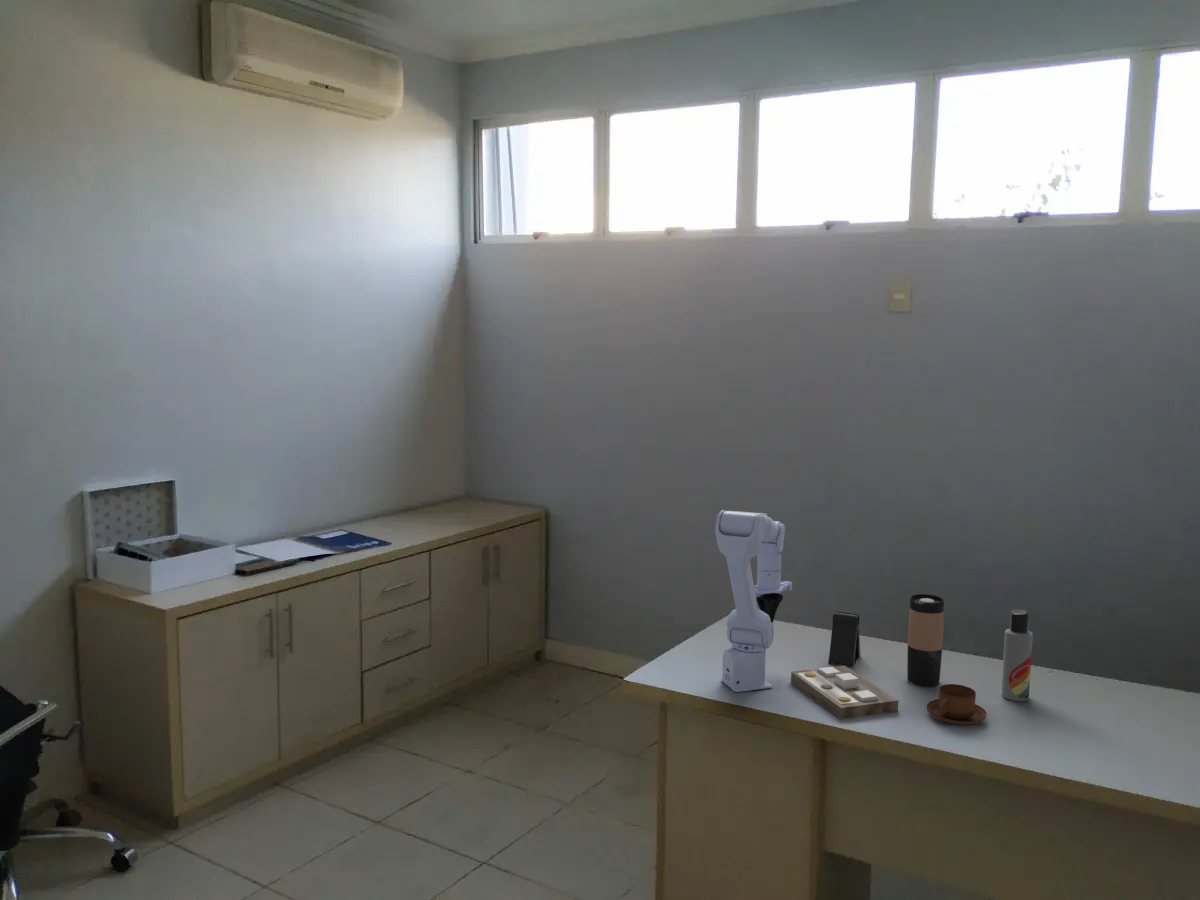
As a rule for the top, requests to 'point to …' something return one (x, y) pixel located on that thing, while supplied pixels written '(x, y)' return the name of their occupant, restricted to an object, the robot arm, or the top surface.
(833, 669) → the button back
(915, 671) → the travel mug
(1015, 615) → the lotion bottle
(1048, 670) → the top surface
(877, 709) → the button board
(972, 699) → the cup and saucer
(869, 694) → the button front
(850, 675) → the button middle
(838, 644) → the phone stand
